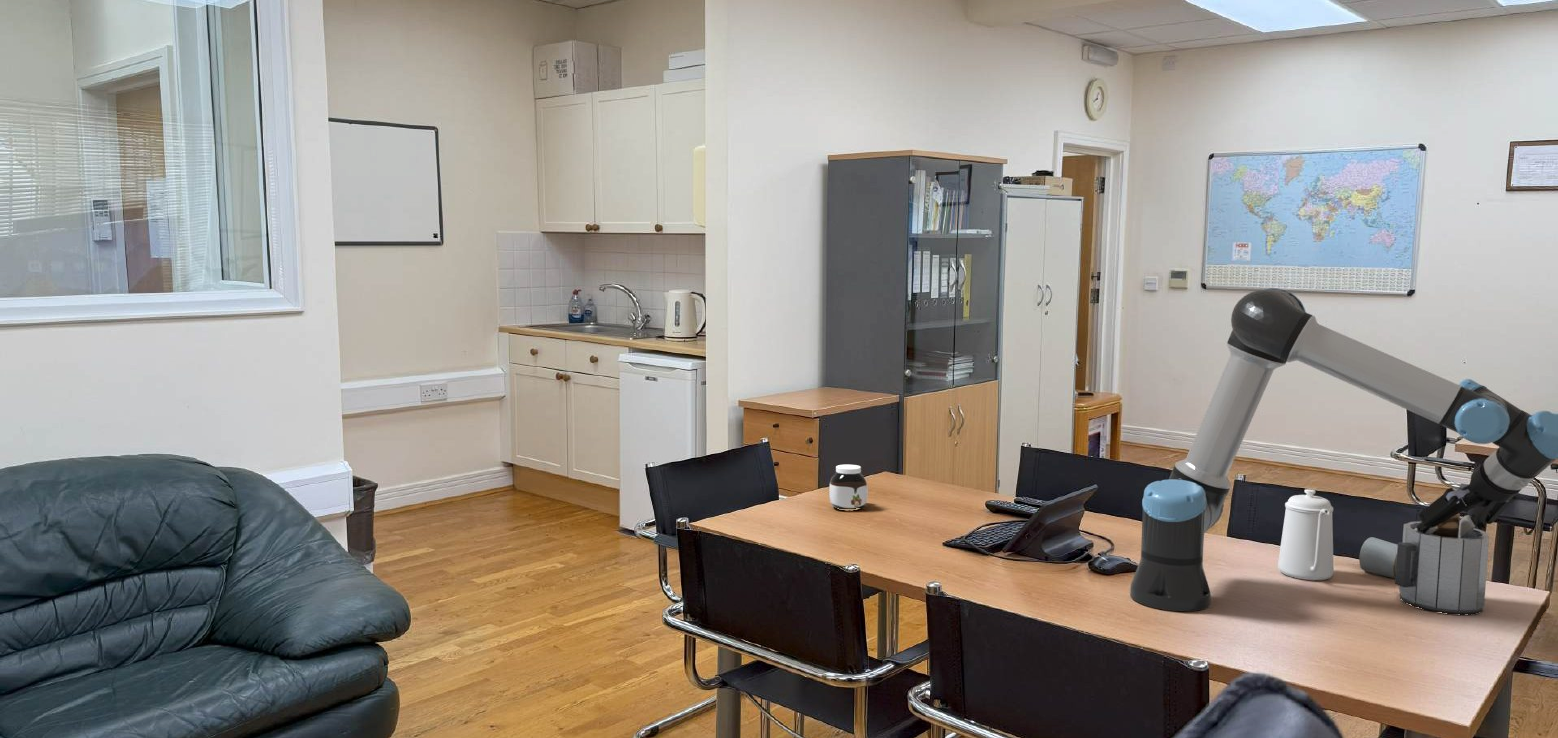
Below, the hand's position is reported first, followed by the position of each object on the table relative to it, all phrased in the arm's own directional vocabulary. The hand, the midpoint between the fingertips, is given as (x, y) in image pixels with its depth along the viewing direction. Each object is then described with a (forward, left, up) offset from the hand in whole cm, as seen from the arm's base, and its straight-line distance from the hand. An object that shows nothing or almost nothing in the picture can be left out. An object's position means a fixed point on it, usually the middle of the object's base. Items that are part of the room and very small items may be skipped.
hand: (1433, 538), depth 212 cm
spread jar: (-102, +91, -13) cm, 137 cm away
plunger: (0, -3, -9) cm, 9 cm away
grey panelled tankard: (-1, -3, -12) cm, 13 cm away
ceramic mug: (+3, +17, -13) cm, 21 cm away
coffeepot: (-15, +18, -13) cm, 27 cm away
